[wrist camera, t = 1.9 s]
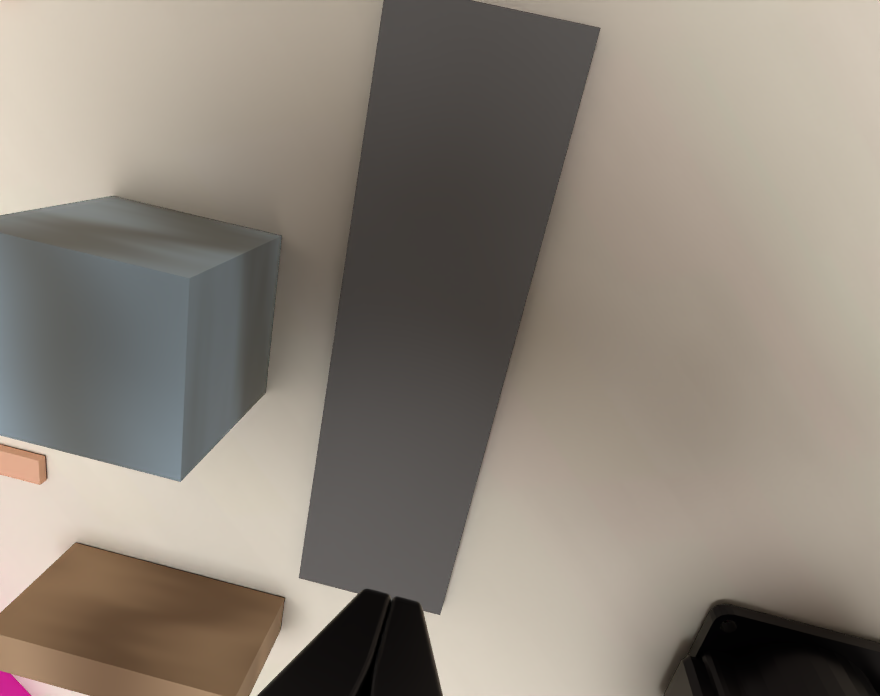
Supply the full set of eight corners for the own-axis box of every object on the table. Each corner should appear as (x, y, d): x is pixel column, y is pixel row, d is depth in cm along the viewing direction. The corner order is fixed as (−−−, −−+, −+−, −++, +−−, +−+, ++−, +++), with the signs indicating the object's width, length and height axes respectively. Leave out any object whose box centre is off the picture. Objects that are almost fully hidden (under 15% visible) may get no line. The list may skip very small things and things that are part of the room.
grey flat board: (598, 30, 14) (600, 27, 13) (441, 606, 20) (440, 615, 20) (390, -14, 14) (386, -18, 13) (302, 569, 21) (298, 577, 20)
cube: (283, 235, 16) (189, 278, 12) (266, 391, 18) (180, 481, 14) (114, 195, 17) (-42, 222, 12) (115, 354, 19) (-21, 430, 14)
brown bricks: (392, -181, 13) (338, -308, 9) (280, 630, 22) (230, 734, 18) (45, -251, 13) (-145, -400, 9) (76, 576, 22) (-14, 666, 18)
